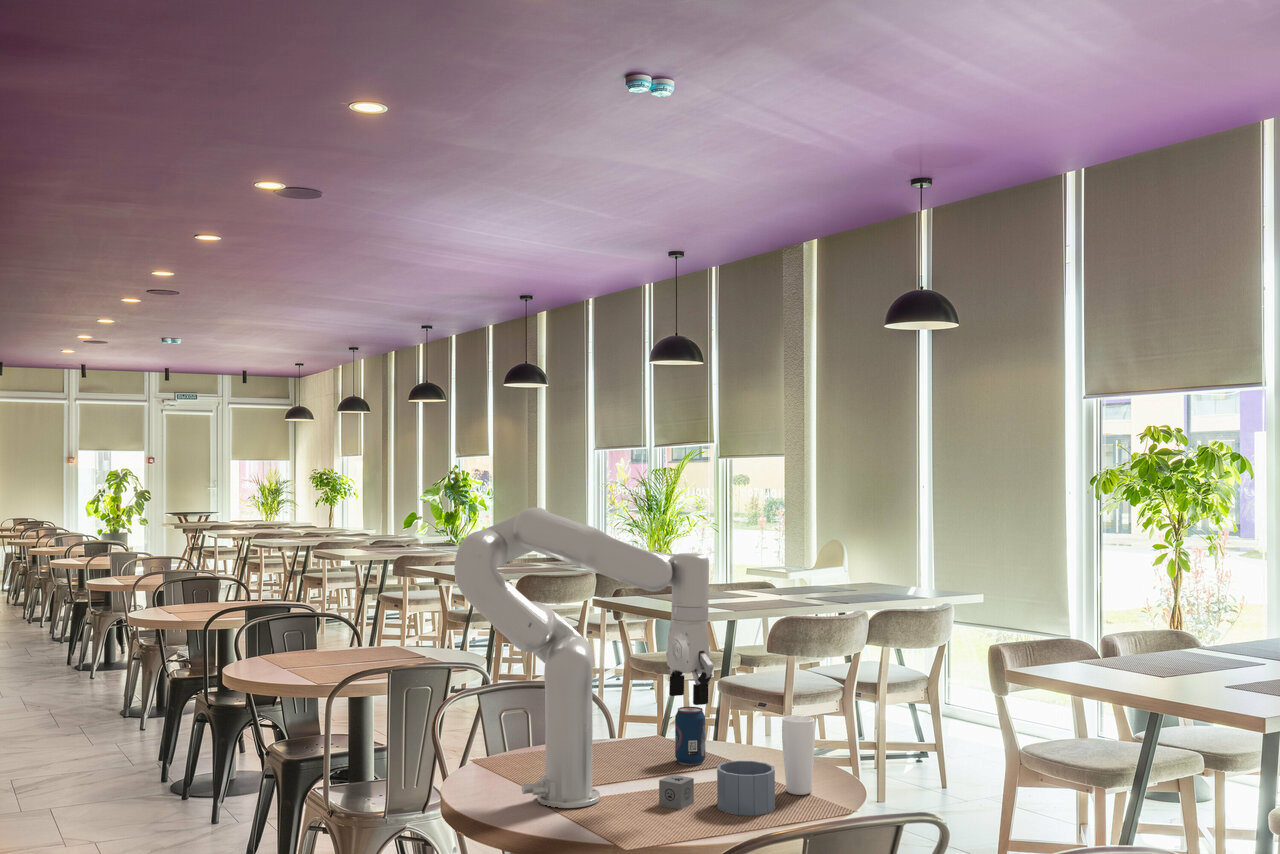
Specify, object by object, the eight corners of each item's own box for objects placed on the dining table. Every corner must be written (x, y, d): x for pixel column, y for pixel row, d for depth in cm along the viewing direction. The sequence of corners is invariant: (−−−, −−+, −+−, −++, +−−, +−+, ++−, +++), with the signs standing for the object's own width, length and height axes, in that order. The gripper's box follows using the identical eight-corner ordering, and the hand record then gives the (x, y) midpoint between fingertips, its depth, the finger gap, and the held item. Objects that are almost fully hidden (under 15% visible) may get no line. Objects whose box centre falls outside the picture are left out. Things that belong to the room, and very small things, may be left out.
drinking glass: (819, 790, 219) (818, 716, 220) (810, 798, 213) (809, 723, 214) (787, 786, 222) (787, 713, 223) (778, 794, 216) (777, 720, 217)
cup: (735, 818, 200) (735, 778, 201) (707, 802, 210) (707, 764, 211) (785, 810, 205) (785, 771, 205) (755, 795, 215) (755, 758, 215)
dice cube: (680, 810, 206) (680, 783, 206) (659, 805, 208) (659, 780, 209) (693, 803, 210) (693, 778, 210) (672, 799, 213) (672, 774, 213)
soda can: (673, 758, 245) (673, 706, 246) (702, 757, 246) (702, 705, 246) (677, 766, 238) (677, 712, 239) (707, 765, 239) (707, 711, 239)
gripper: (653, 610, 221) (652, 693, 220) (695, 620, 205) (693, 709, 204) (685, 609, 224) (683, 691, 223) (728, 618, 209) (726, 706, 208)
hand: (688, 699), depth 214 cm, fingers open, 9 cm apart
